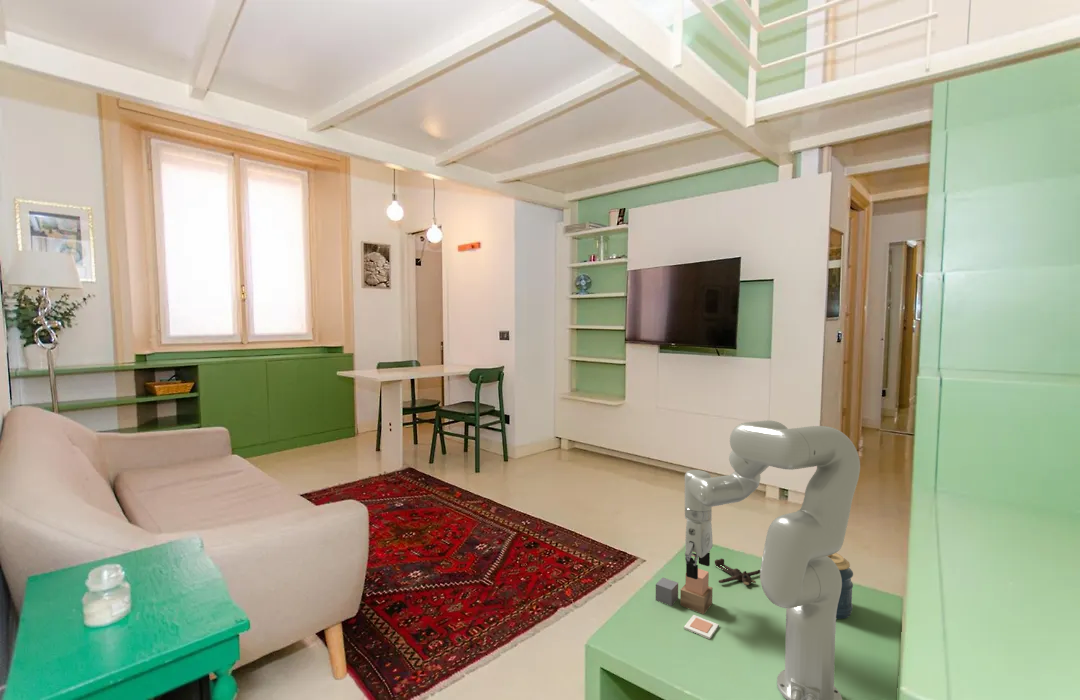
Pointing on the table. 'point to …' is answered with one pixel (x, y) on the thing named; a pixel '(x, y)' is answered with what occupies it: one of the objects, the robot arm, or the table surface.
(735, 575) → the brown spindly figurine
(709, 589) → the walnut block
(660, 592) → the charcoal block
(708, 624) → the card
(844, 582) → the canister
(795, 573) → the robot arm
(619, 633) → the table surface
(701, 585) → the terracotta block
